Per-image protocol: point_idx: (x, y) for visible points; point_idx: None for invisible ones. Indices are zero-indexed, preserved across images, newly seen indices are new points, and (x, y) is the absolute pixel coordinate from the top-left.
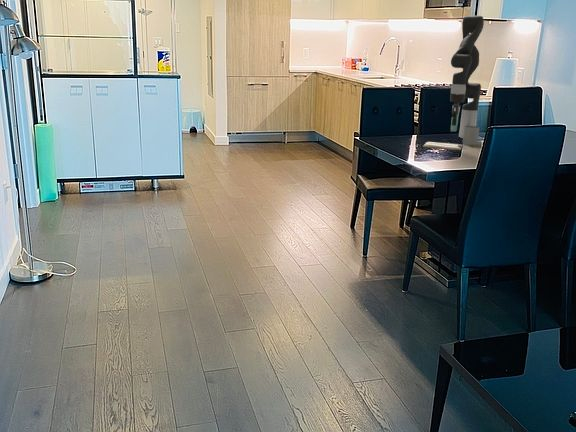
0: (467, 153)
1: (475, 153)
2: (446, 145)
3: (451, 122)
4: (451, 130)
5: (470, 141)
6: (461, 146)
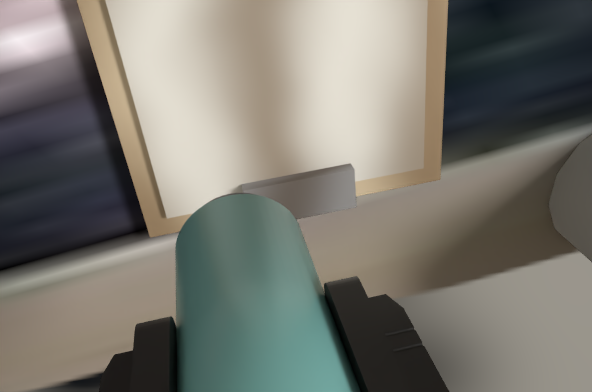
0: (22, 330)
1: (92, 372)
2: (240, 43)
3: (214, 326)
4: (183, 229)
5: (573, 224)
6: None
